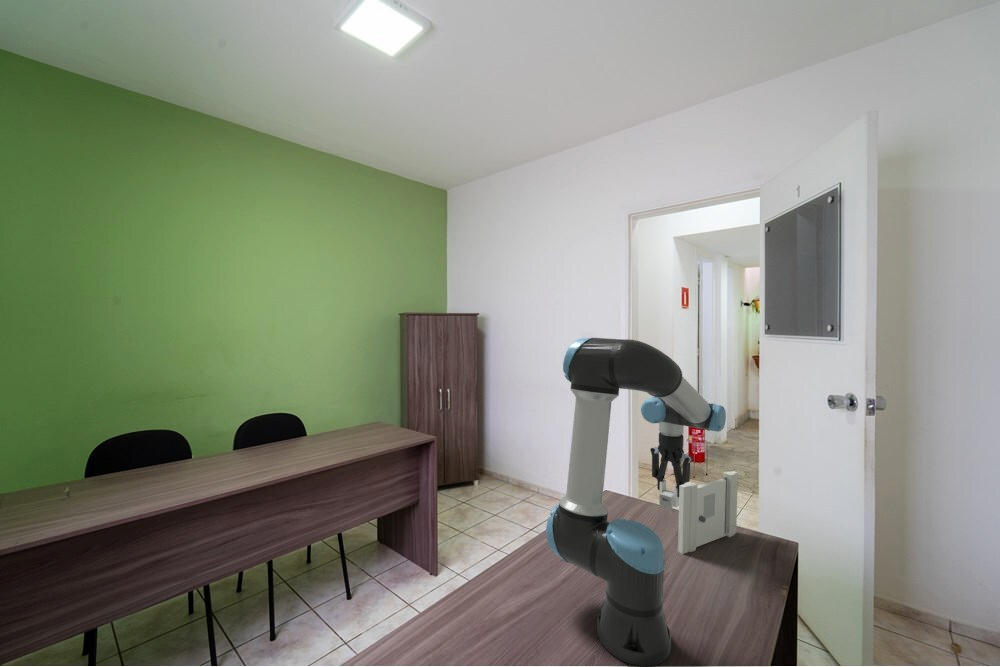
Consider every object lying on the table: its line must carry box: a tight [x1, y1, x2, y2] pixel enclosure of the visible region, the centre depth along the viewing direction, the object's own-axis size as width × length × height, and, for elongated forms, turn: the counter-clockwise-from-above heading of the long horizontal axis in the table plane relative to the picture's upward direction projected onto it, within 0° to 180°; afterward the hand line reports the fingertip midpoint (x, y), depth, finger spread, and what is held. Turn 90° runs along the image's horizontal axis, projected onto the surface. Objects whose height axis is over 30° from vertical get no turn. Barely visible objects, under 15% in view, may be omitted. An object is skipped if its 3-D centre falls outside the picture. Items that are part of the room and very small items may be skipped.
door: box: [696, 478, 726, 548], centre depth 125 cm, size 14×3×18 cm, turn 118°
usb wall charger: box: [658, 489, 674, 510], centre depth 133 cm, size 4×7×4 cm, turn 136°
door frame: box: [677, 470, 739, 555], centre depth 125 cm, size 26×2×20 cm, turn 118°
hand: (669, 502), depth 133 cm, fingers closed on usb wall charger, 4 cm apart
